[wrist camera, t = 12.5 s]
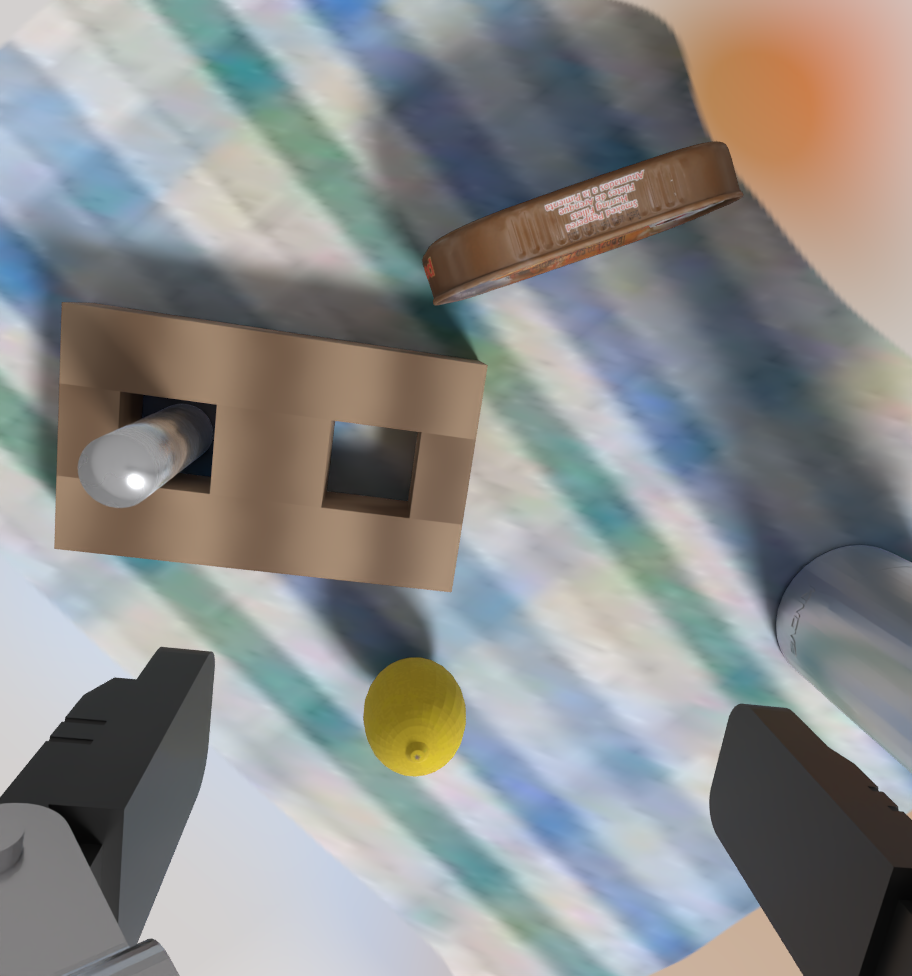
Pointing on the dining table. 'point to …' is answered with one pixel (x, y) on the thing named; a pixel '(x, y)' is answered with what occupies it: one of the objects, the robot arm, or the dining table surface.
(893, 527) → the dining table surface
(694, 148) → the tin
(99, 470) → the peg
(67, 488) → the hole block
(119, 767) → the robot arm
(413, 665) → the lemon
